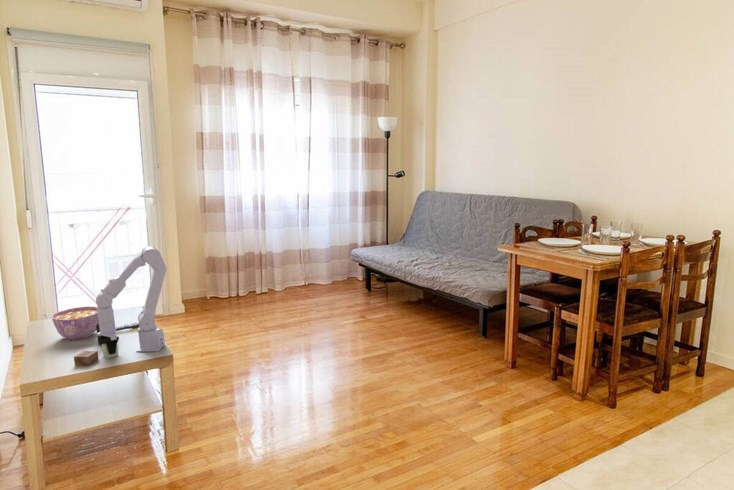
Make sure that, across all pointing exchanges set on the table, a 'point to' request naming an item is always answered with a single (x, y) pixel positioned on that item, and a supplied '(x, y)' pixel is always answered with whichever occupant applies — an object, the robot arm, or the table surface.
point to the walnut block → (86, 358)
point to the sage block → (106, 353)
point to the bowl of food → (76, 322)
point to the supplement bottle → (98, 332)
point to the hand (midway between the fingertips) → (110, 352)
